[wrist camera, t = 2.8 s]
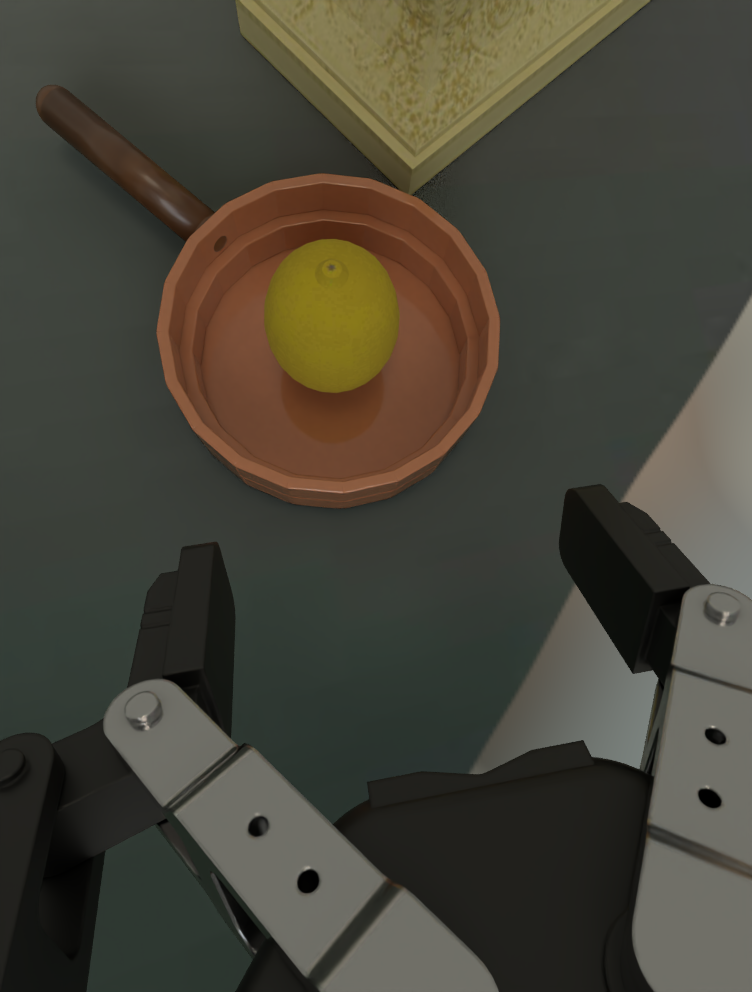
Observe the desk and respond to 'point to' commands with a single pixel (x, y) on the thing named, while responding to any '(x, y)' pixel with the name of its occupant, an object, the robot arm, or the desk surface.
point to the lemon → (331, 315)
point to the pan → (307, 412)
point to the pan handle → (123, 162)
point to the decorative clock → (423, 66)
